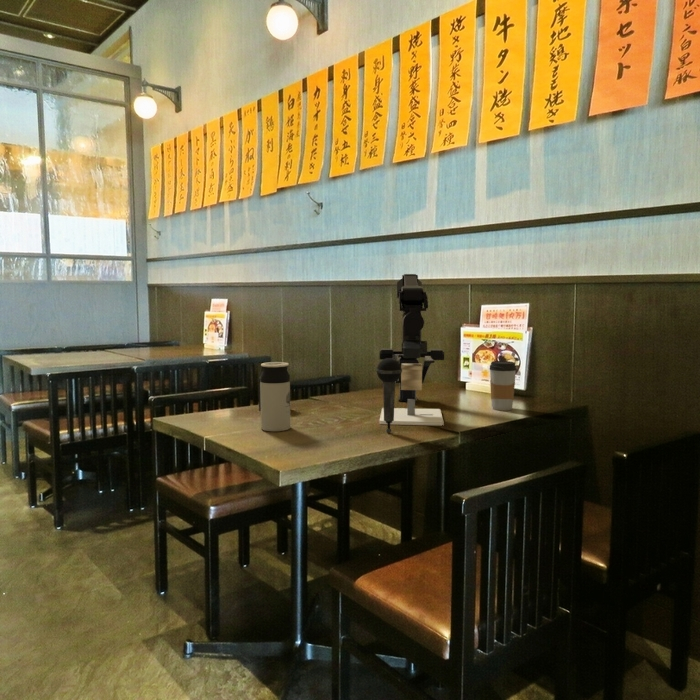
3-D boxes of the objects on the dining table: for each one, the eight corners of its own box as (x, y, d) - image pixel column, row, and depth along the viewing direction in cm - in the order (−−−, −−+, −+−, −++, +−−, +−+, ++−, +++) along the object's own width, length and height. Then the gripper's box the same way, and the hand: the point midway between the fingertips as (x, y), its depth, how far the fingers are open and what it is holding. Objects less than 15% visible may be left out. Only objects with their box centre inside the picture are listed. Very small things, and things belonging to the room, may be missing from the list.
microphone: (383, 437, 147) (383, 360, 145) (371, 431, 153) (371, 357, 151) (406, 434, 150) (407, 359, 148) (394, 429, 156) (394, 356, 154)
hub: (382, 411, 180) (382, 393, 179) (439, 412, 178) (440, 394, 177) (379, 424, 162) (379, 405, 161) (443, 425, 160) (443, 406, 160)
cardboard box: (401, 389, 166) (401, 365, 166) (401, 386, 172) (401, 362, 172) (421, 390, 166) (422, 365, 165) (421, 386, 172) (421, 363, 171)
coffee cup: (516, 412, 178) (517, 364, 176) (488, 410, 180) (490, 363, 178) (514, 406, 186) (515, 361, 185) (488, 405, 188) (489, 360, 186)
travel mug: (255, 430, 154) (254, 364, 153) (270, 424, 162) (269, 361, 160) (282, 433, 152) (281, 366, 150) (295, 426, 159) (294, 362, 157)
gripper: (378, 332, 160) (378, 387, 162) (445, 332, 158) (445, 388, 160) (380, 329, 171) (380, 381, 173) (443, 330, 169) (442, 382, 171)
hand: (411, 383), depth 169 cm, fingers closed on cardboard box, 6 cm apart
